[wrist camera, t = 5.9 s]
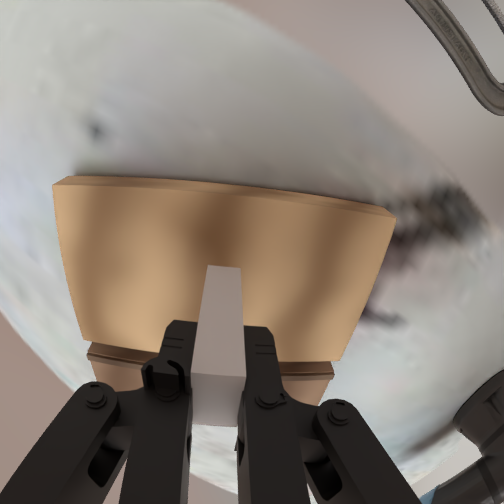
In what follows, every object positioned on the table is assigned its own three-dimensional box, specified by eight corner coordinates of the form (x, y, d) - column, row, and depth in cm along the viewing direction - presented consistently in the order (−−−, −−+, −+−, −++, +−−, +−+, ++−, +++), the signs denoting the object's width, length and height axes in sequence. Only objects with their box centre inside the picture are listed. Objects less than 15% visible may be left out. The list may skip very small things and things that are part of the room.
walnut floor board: (327, 355, 23) (335, 373, 21) (305, 407, 27) (309, 424, 24) (95, 335, 21) (86, 353, 19) (111, 393, 24) (106, 409, 22)
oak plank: (382, 206, 17) (397, 218, 15) (333, 343, 23) (339, 360, 21) (68, 175, 15) (52, 185, 13) (91, 322, 20) (83, 339, 19)
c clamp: (329, -68, 9) (340, -85, 7) (437, -82, 6) (450, -90, 3) (477, 136, 17) (500, 140, 14) (539, 71, 13) (555, 72, 10)
